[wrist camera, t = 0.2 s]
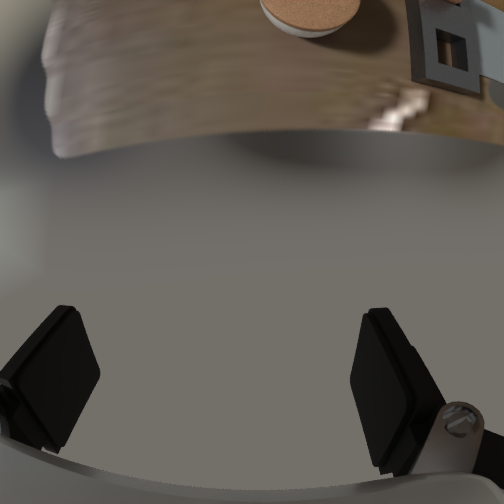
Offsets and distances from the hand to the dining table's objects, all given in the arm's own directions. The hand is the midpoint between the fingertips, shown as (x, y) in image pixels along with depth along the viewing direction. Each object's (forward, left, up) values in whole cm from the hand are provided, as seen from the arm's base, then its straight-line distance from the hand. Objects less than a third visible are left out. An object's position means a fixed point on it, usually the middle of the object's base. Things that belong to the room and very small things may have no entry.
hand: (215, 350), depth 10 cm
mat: (-26, +39, -31) cm, 56 cm away
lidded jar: (-23, +7, -31) cm, 39 cm away
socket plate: (-25, +26, -31) cm, 47 cm away
